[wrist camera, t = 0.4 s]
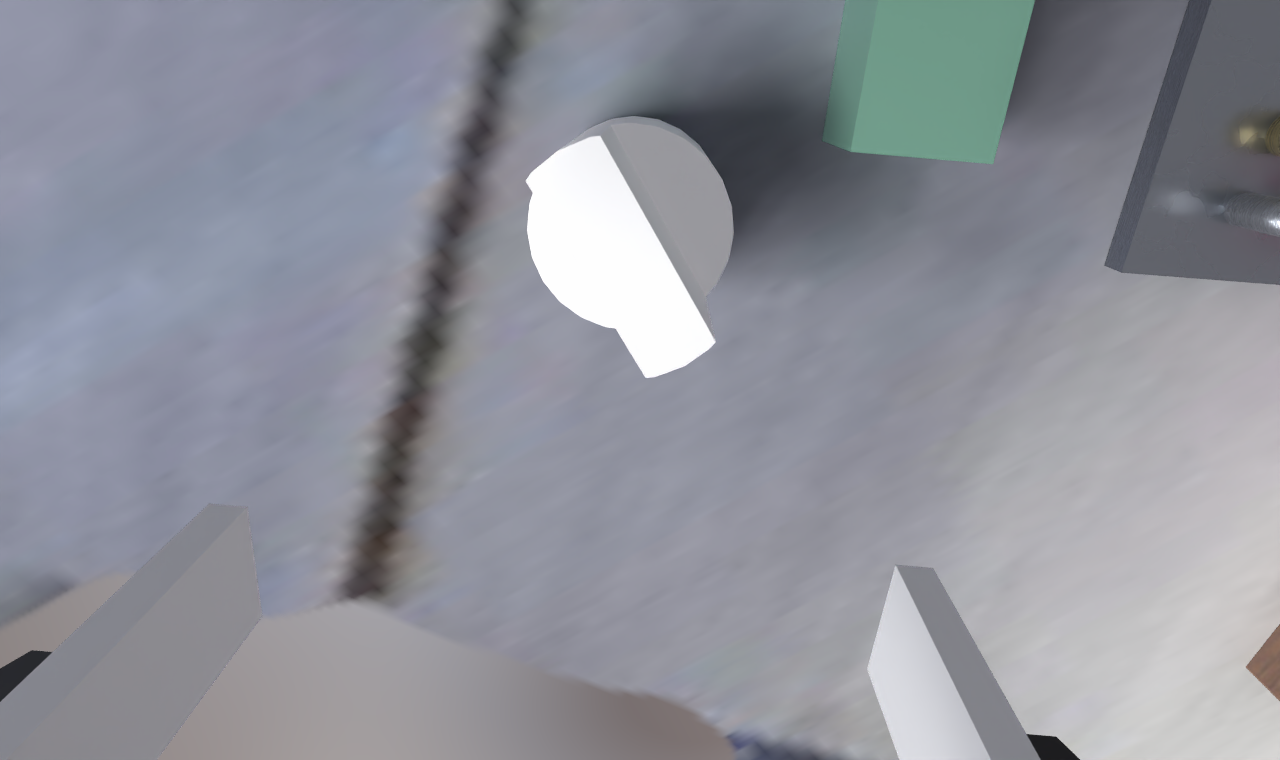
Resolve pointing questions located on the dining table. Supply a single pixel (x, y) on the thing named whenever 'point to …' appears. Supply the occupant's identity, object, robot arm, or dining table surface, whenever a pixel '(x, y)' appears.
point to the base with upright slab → (634, 236)
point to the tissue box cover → (1268, 664)
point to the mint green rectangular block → (925, 77)
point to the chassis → (1211, 154)
